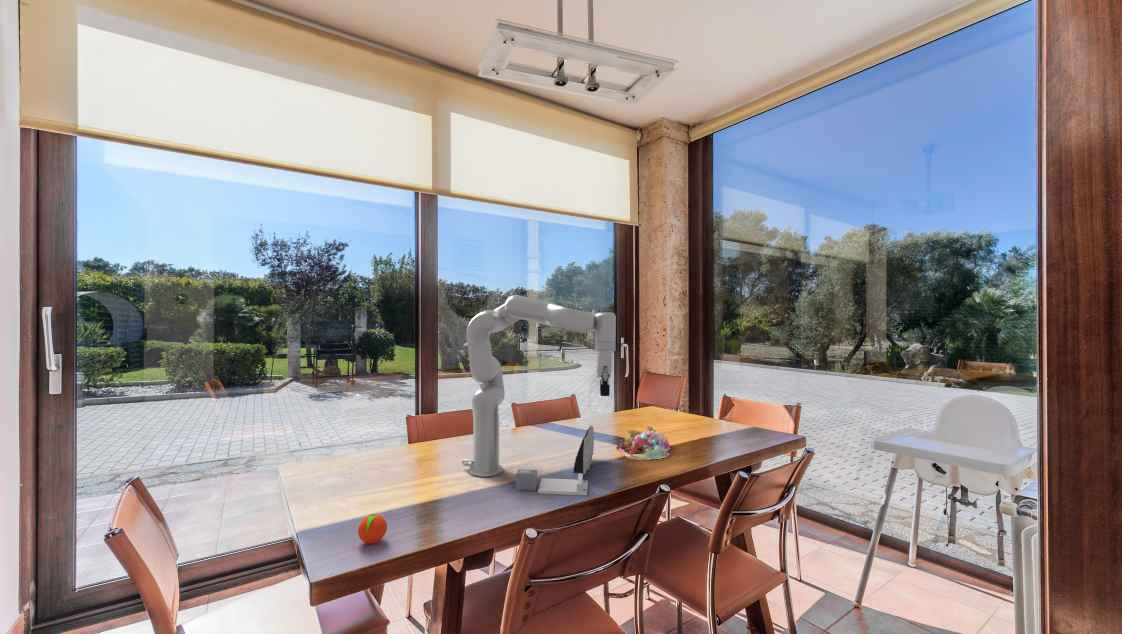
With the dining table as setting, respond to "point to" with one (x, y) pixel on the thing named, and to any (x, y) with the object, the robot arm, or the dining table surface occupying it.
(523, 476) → the module
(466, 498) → the dining table surface
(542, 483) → the plate
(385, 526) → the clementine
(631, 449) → the candy landscape model
